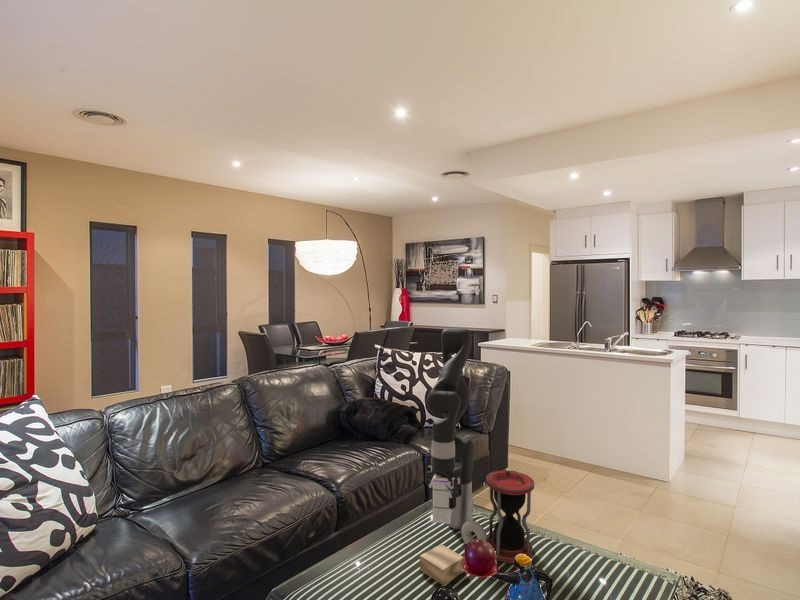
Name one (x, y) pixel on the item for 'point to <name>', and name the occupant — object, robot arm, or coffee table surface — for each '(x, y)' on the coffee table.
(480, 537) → the donut
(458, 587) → the coffee table surface
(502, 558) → the hourglass
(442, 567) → the oak block
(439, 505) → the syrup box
